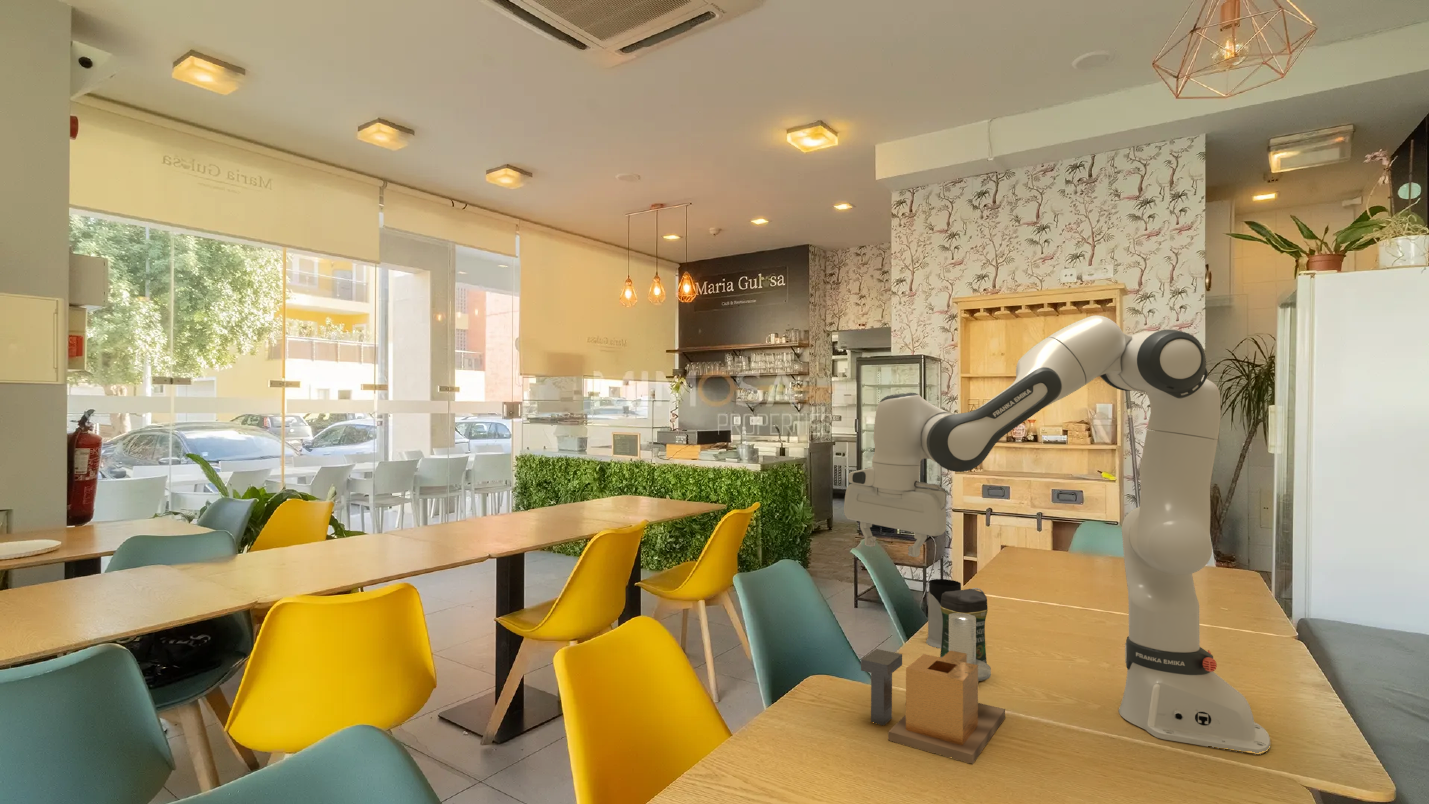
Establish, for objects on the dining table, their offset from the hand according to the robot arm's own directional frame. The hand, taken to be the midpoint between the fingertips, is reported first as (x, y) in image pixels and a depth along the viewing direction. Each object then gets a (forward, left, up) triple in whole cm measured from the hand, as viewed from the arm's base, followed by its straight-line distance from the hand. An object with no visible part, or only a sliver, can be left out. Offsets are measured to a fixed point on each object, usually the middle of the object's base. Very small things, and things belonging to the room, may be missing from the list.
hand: (891, 551), depth 133 cm
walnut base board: (-11, +2, -30) cm, 32 cm away
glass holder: (+2, -48, -30) cm, 57 cm away
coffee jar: (-6, -26, -30) cm, 40 cm away
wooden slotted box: (-11, -1, -28) cm, 31 cm away
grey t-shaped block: (0, +5, -30) cm, 30 cm away
